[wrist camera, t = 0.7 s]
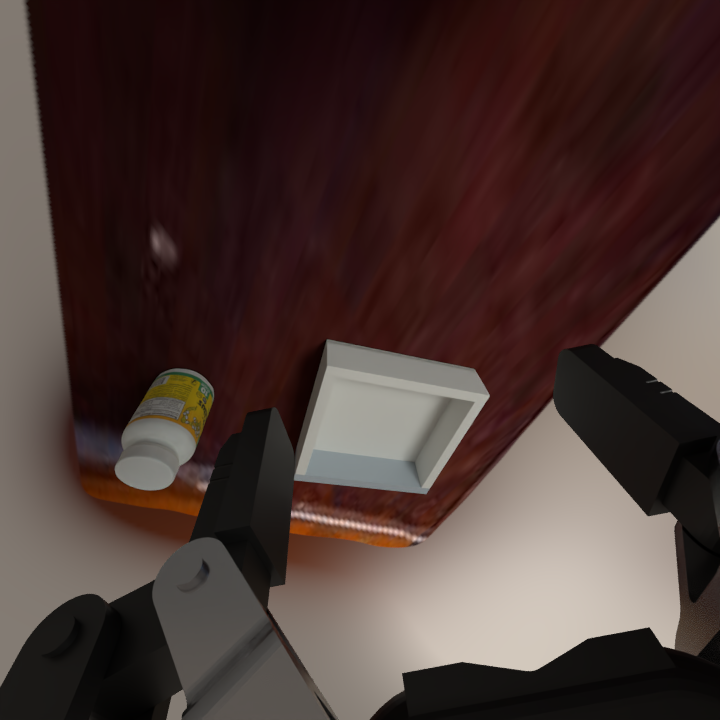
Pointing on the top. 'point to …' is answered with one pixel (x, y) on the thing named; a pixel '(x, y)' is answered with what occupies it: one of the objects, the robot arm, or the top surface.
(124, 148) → the top surface
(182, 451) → the supplement bottle
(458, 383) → the box
